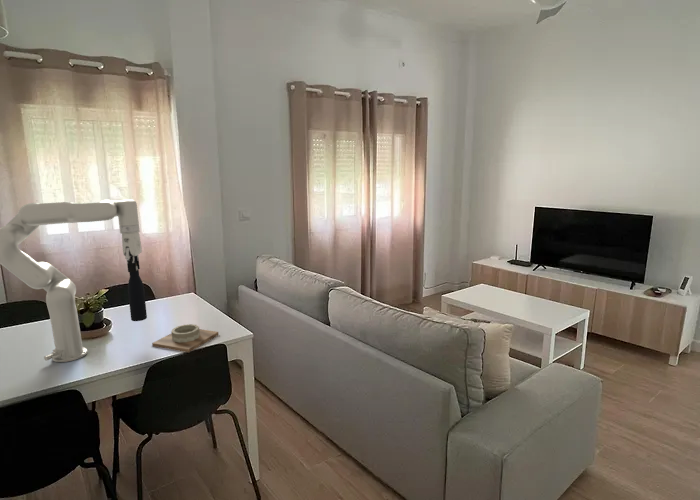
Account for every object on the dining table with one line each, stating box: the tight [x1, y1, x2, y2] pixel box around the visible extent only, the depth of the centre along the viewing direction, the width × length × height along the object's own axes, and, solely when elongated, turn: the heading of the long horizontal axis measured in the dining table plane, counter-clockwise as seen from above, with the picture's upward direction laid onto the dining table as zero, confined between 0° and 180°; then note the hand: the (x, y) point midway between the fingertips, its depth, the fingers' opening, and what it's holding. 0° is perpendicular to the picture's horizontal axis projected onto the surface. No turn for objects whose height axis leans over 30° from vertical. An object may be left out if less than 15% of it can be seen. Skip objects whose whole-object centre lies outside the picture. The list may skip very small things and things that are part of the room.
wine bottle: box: [127, 254, 148, 322], centre depth 191 cm, size 6×6×30 cm
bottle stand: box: [152, 323, 219, 353], centre depth 197 cm, size 20×20×6 cm
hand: (133, 270), depth 189 cm, fingers closed on wine bottle, 3 cm apart
